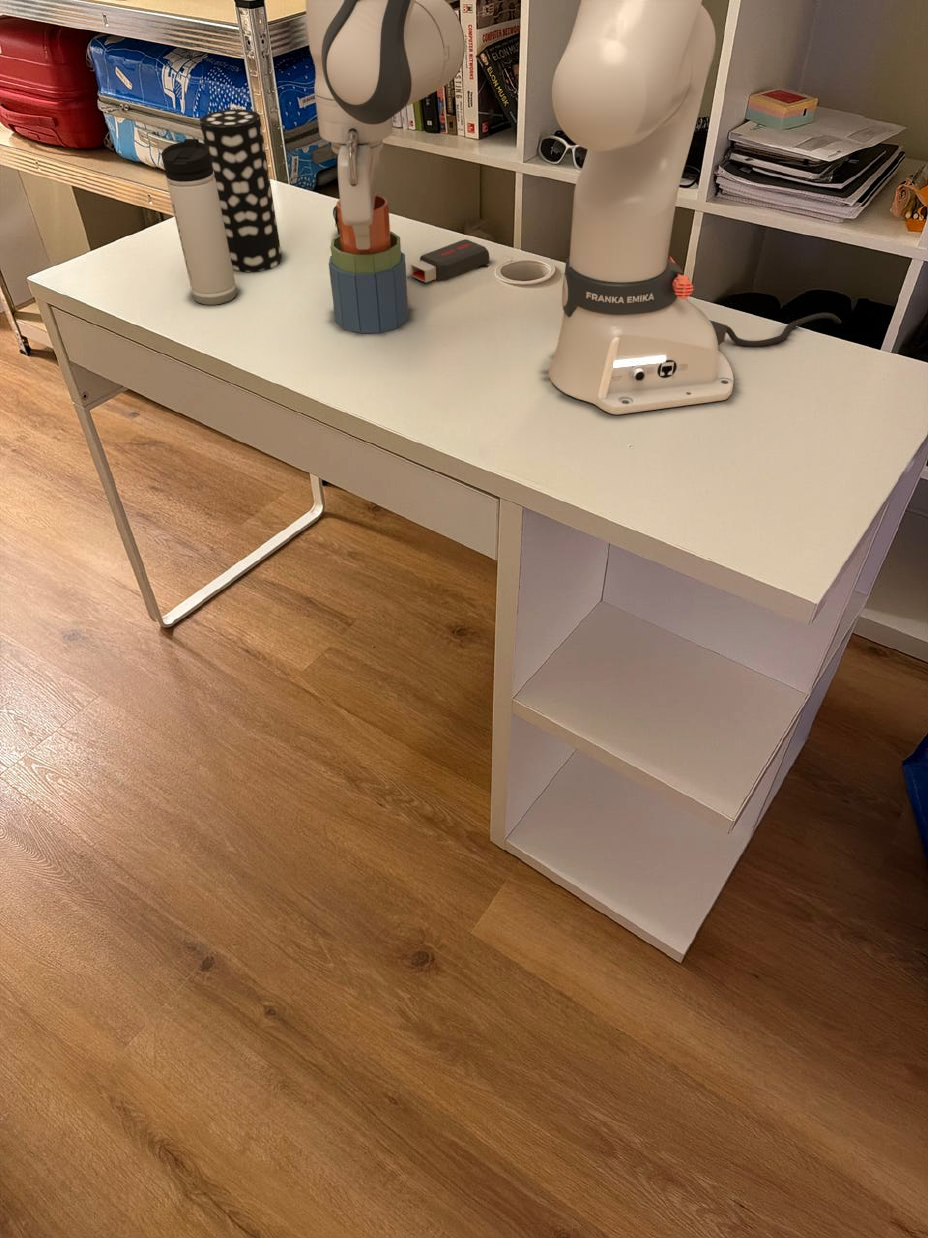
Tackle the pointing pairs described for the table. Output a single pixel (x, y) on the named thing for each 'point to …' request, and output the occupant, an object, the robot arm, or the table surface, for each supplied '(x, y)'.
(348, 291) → the cup stack
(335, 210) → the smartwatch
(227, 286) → the travel mug
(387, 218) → the terracotta cup
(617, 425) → the table surface
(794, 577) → the table surface
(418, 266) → the usb drive
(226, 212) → the spotted tube
